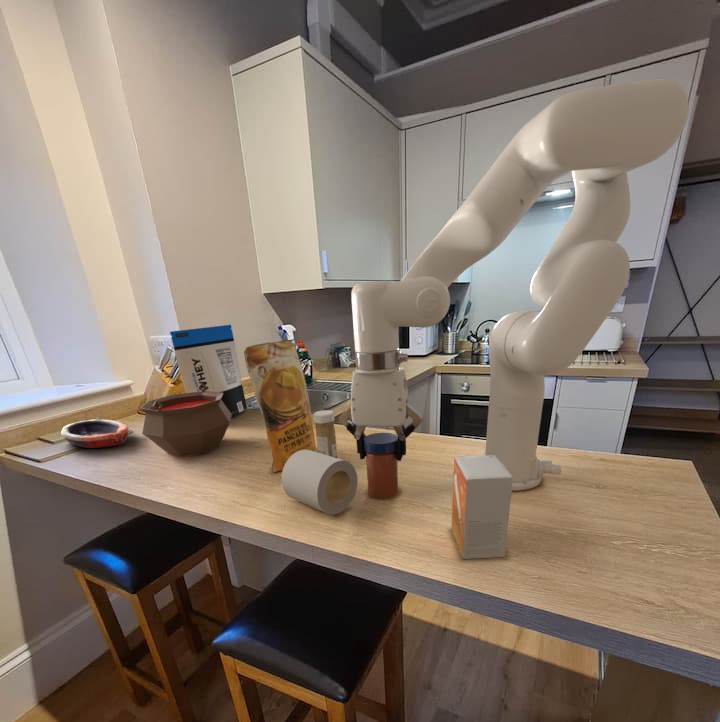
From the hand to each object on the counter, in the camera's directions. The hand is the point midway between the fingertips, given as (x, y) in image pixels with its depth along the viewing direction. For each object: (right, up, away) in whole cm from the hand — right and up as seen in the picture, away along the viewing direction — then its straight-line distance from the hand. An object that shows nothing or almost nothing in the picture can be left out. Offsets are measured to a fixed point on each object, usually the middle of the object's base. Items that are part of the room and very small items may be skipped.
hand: (381, 456), depth 75 cm
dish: (-87, +8, +48) cm, 99 cm away
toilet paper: (-11, -9, 0) cm, 15 cm away
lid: (0, +3, -1) cm, 4 cm away
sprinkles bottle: (-11, -2, +16) cm, 20 cm away
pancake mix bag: (-21, 0, +22) cm, 31 cm away
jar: (0, -7, +3) cm, 8 cm away
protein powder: (-54, +18, +66) cm, 87 cm away
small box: (+14, -14, -15) cm, 25 cm away
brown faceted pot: (-51, +5, +36) cm, 63 cm away
